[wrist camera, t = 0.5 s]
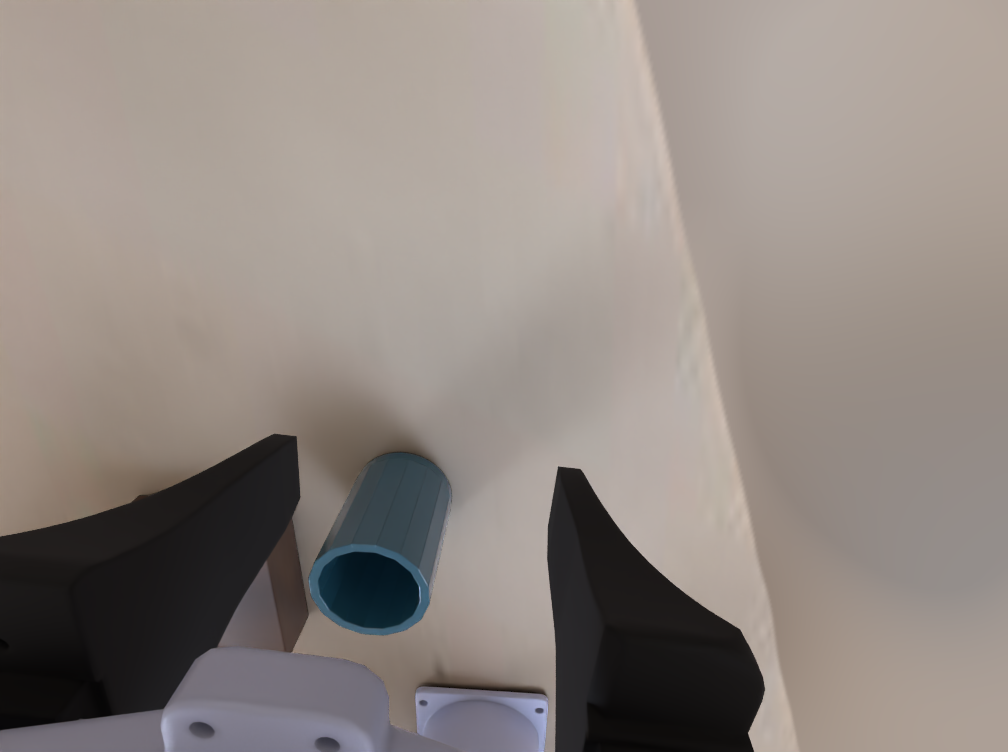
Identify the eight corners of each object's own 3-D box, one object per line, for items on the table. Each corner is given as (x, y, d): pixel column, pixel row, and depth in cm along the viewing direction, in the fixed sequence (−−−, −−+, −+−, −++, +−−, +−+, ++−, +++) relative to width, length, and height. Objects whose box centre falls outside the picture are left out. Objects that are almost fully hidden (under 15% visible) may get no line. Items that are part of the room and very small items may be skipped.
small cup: (452, 532, 29) (431, 639, 23) (361, 528, 29) (316, 631, 23) (451, 454, 27) (427, 547, 21) (353, 449, 27) (301, 541, 21)
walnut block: (309, 616, 32) (287, 662, 29) (173, 607, 32) (139, 652, 29) (290, 502, 28) (263, 542, 26) (138, 494, 29) (96, 533, 26)
